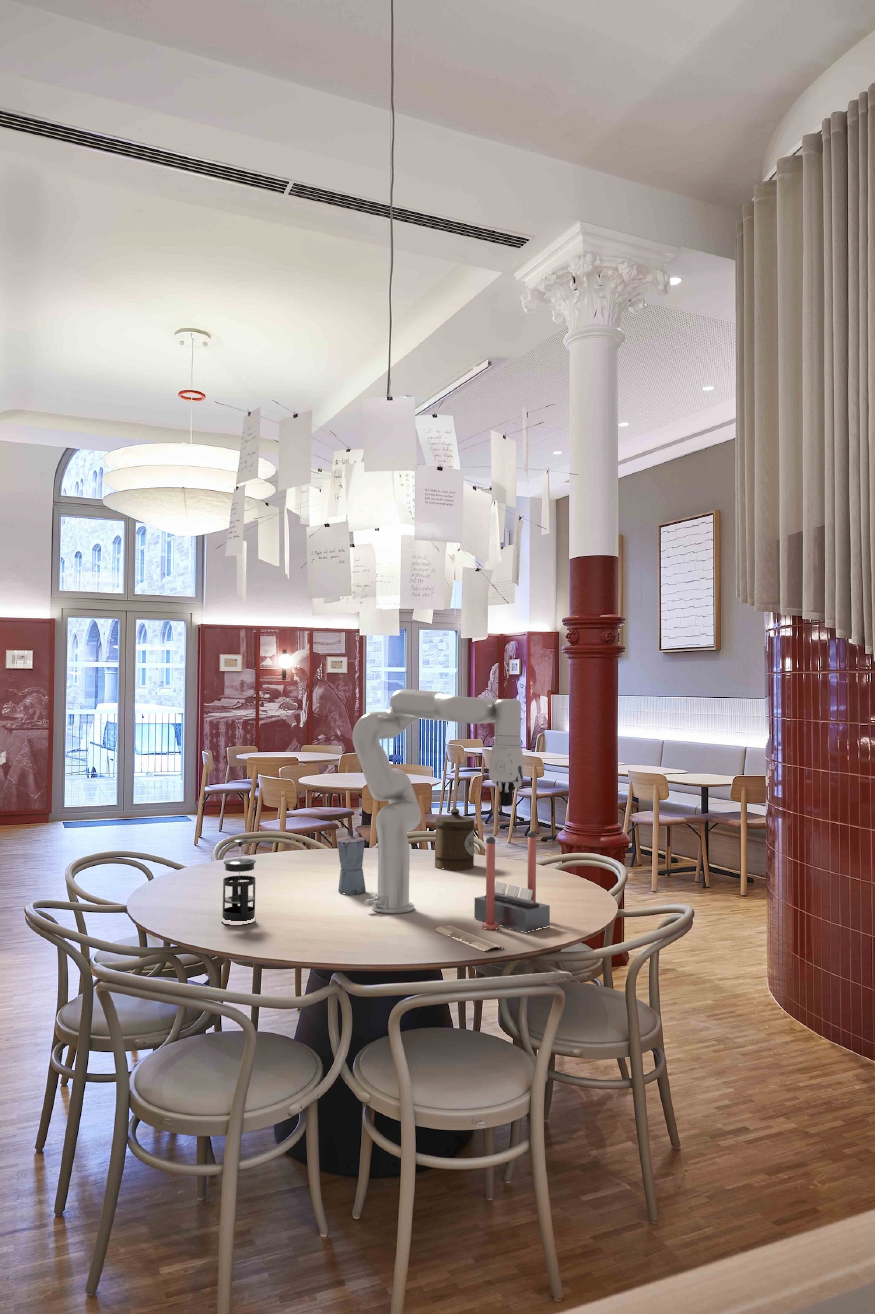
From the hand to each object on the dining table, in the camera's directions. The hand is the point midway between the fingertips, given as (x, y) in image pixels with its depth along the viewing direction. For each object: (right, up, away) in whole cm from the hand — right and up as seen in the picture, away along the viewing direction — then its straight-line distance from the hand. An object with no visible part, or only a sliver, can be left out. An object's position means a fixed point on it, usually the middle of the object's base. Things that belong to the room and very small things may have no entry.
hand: (506, 805), depth 246 cm
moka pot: (-48, -35, +36) cm, 69 cm away
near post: (-5, -33, -8) cm, 34 cm away
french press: (-76, -33, -4) cm, 83 cm away
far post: (+8, -33, +3) cm, 34 cm away
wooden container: (-13, -37, +79) cm, 89 cm away
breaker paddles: (+1, -26, -2) cm, 26 cm away
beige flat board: (-12, -33, -20) cm, 40 cm away
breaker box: (+1, -33, -2) cm, 33 cm away
